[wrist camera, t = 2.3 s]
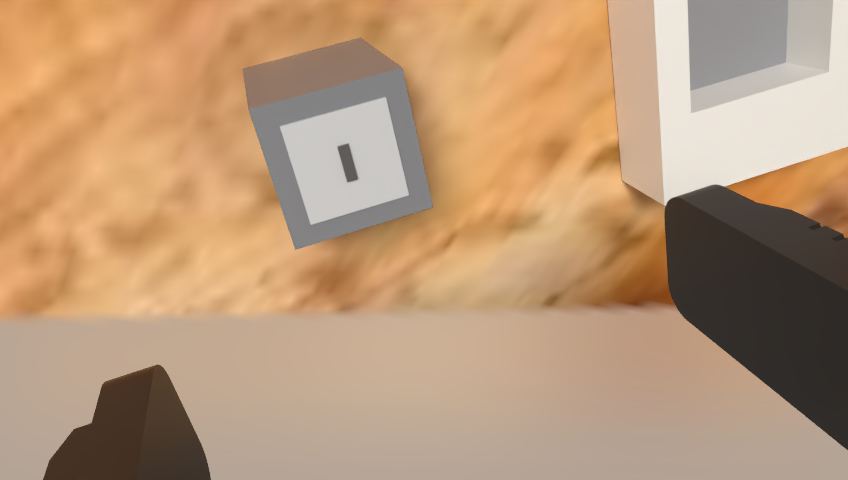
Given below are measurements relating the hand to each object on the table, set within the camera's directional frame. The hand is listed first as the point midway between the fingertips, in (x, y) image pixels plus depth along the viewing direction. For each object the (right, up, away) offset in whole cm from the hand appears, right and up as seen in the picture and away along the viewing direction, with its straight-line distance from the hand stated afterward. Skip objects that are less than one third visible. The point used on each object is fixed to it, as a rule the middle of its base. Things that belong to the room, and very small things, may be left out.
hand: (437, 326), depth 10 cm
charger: (-4, +6, +13) cm, 15 cm away
